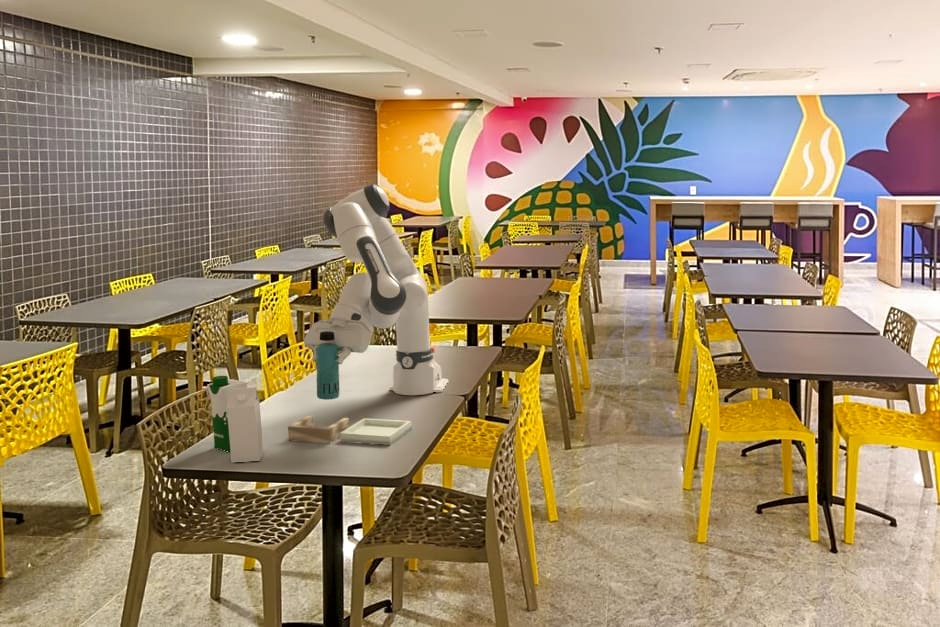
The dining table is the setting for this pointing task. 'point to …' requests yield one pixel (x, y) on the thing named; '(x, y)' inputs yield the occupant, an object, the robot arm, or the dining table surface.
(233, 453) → the milk carton
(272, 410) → the dining table surface
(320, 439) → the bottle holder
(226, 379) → the soya milk
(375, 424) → the tray
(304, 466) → the dining table surface
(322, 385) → the beverage bottle
